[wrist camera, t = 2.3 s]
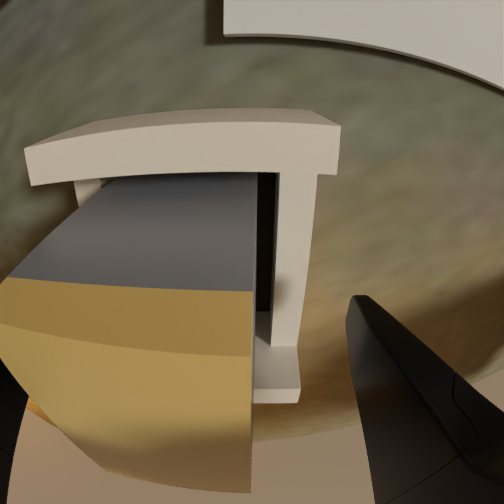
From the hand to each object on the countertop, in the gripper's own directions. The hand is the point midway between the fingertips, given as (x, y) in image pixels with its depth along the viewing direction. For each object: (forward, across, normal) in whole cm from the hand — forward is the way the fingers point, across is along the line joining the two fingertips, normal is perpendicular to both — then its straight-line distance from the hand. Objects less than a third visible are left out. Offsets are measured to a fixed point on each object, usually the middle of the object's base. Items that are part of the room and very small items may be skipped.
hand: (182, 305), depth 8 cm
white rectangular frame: (+4, 0, 0) cm, 4 cm away
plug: (+4, 0, 0) cm, 4 cm away
